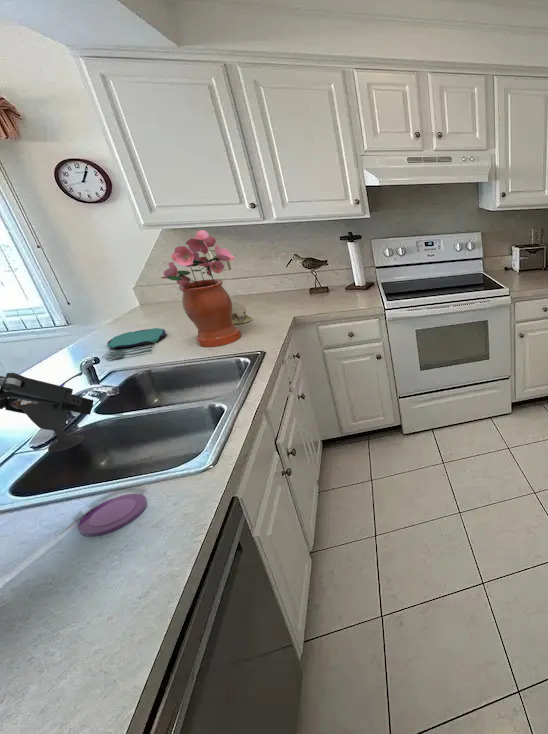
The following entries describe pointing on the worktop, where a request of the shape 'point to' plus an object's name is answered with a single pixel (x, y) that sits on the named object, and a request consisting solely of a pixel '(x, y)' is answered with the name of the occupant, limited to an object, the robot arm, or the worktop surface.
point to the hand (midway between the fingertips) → (68, 408)
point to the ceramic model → (239, 314)
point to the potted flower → (205, 291)
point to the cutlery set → (134, 341)
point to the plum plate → (112, 514)
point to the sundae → (49, 422)
